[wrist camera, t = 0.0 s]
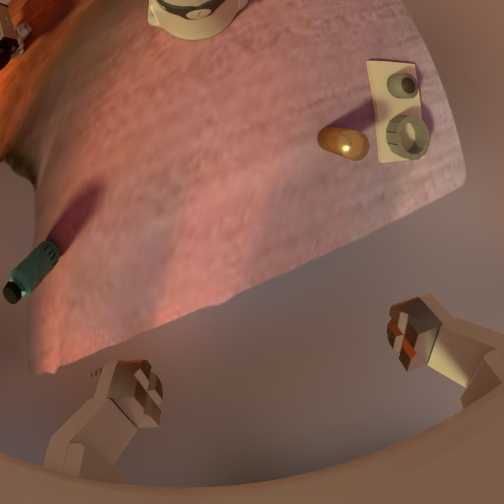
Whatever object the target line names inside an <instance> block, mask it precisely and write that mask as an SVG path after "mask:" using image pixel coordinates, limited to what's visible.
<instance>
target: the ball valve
mask: <svg viewBox="0 0 504 504" xmlns="http://www.w3.org/2000/svg"><path fill="white" fill-rule="evenodd" d="M31 31H32V29H31V27H30V25H29V24H28V23H26V22H24V23H22V24H21V25H18V26H16V24H12V20H11V17H10V13H9V9H8V5H5V4H2V3H0V70H1V69H3V68H4V67H5V66H6V65H7V64H8V62H9V61H10V59H15V58H17V57H19V56H20V55H21V54H22V53H23V52H24V49H23V48H24V46H25V44H24V40H25V39H26V38H27V37H28V34H29V33H30V32H31Z"/></svg>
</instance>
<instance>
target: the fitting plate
mask: <svg viewBox="0 0 504 504" xmlns="http://www.w3.org/2000/svg"><path fill="white" fill-rule="evenodd" d="M366 64H367V69H368V75H369V81H370V87H371V93H372V100H373V107H374V115H375V123H376V132H377V143H378V155H379V162H382V163H385V162H394V161H403V160H417V159H424V155H425V154H426V152H427V150H428V147H429V145H430V143H428V142H430V133H429V130H428V128H427V126H426V124H425V122H424V121H423V120H422V113H421V104H420V96H419V88H418V81H417V75H416V69H415V64H408V63H398V62H386V61H366Z"/></svg>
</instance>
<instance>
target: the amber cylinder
mask: <svg viewBox="0 0 504 504" xmlns="http://www.w3.org/2000/svg"><path fill="white" fill-rule="evenodd" d="M317 139H318V144H319V145H320V147H321V148H322V149H324V150H326V151H329V152H332V153H334V154H337V155H340V156H343V157H345V158H348V159H350V160H354V161H358V160H361V159H363V158H364V157H365V156H366V155H367V153H368V151H369V141H368V138H367V137H366V135H365V134H364V133H362V132H361V131H357V130H351V129H344V128H337V127H324V128H323V129H321V130H320V132H319V134H318V138H317Z"/></svg>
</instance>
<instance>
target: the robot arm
mask: <svg viewBox="0 0 504 504" xmlns="http://www.w3.org/2000/svg"><path fill="white" fill-rule="evenodd" d="M247 3H248V0H149V12H148V22H149V24H150V25H152V26H156V27H161V28H163V29H165V30H166V31H168V32H169V33H170V34H172V35H174V36H176V37H178V38H182V39H187V40H199V39H204V38H208V37H211V36H214V35H216V34H218V33H220V32H221V31H223V30H224V29H225V28H226V27H227V26H228V25H229V24H230V23H231V22H232V20H233V18H234V17H235V15H236V13H237V12H238V11H239V10H241V9H242V8H244V7H245V6H246V5H247ZM153 15H154V16H153ZM389 315H390V316H391V318H392V319H391V320H390V322H389V323H388V324H387V337H388V341H389V343H390V345H391V347H392V349H393V350H395V351H397V352H399V353H400V355H399V360H400V361H401V363H402V365H403V366H404V368H405V369H406V371H407V372H408V371H411V370H414V369H416V368H418V367H421V366H423V365H426V364H427V365H428V366H430V367H432V368H433V369H435V370H437V371H438V372H440V373H442V374H443V375H445V376H447V377H449V378H450V379H452V380H454V381H455V382H457V383H459V384H460V385H462V386H464V387H466V389H465V391H464V393H463V394H462V396H461V398H460V401H459V402H460V404H461V405H462V407H463V410H461V411H460V412H458V413H456V414H454V415H453V416H451V417H449V418H448V419H446V420H444V421H442V422H440V423H439V424H437V425H435V426H433V427H431V428H429V429H427V430H425V431H423V432H421V433H419V434H417V435H415V436H413V437H411V438H409V439H406V440H404V441H402V442H400V443H397V444H395V445H393V446H390V447H388V448H386V449H383V450H381V451H378V452H375V453H373V454H370V455H367V456H364V457H362V458H359V459H356V460H353V461H350V462H347V463H344V464H341V465H337V466H334V467H330V468H326V469H323V470H319V471H315V472H311V473H307V474H303V475H298V476H293V477H289V478H283V479H278V480H272V481H266V482H260V483H253V484H245V485H236V486H223V487H206V488H160V487H143V486H132V485H124V475H123V473H121V472H120V471H118V470H117V469H115V468H114V467H112V466H113V464H114V463H115V462H116V460H117V459H118V457H119V456H120V454H121V453H122V451H123V450H124V448H125V447H126V445H127V444H128V443H129V441H130V440H131V438H132V437H133V435H134V434H135V433H136V431H137V430H138V428H145V427H159V426H160V418H161V410H160V408H159V407H158V405H159V403H160V402H161V401H162V400H163V388H162V384H161V381H160V379H159V377H158V376H157V375H156V374H154V373H153V372H151V365H150V363H149V362H148V360H133V361H119V362H107V363H106V364H105V365H104V367H103V370H102V373H101V376H100V379H99V383H98V386H97V389H96V392H95V396H94V399H89V400H88V401H87V402H86V403H85V404H84V405H83V406H82V407H81V408H80V409H79V410H78V411H77V412H76V413H75V414H74V415H73V416H72V417H71V418H70V419H69V420H68V421H67V422H66V423H65V424H64V425H63V426H62V427H61V428H60V429H59V430H58V431H57V432H56V433H55V434H54V435H53V436H52V437H51V439H50V442H49V446H48V449H47V453H46V456H45V461H44V464H43V468H42V467H38V466H35V465H32V464H29V463H26V462H23V461H21V460H18V459H15V458H13V457H10V456H8V455H5V454H3V453H0V504H504V334H501V333H498V332H495V331H493V330H490V329H487V328H484V327H482V326H479V325H476V324H473V323H471V322H468V321H465V320H462V319H460V318H457V319H454V318H453V317H452V316H451V314H450V313H449V312H448V311H447V310H446V309H445V308H444V307H443V306H442V305H441V304H440V303H439V302H438V301H437V299H436V298H435V297H434V296H433V295H432V294H430V293H425V294H422V295H419V296H417V297H414V298H411V299H409V300H406V301H403V302H400V303H397V304H394V305H392V306H391V308H390V311H389Z"/></svg>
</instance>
